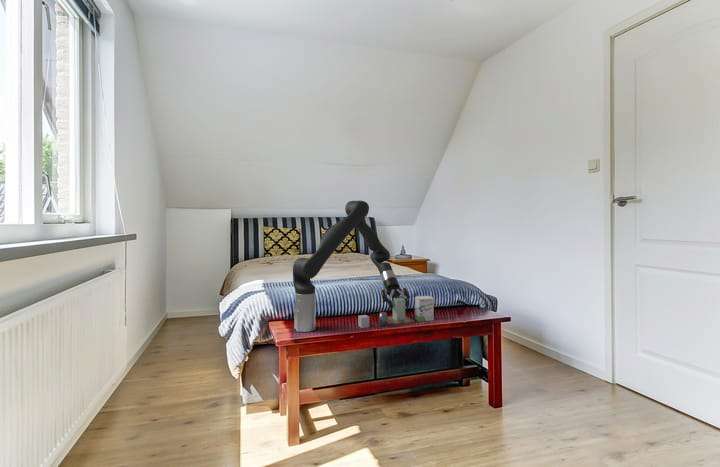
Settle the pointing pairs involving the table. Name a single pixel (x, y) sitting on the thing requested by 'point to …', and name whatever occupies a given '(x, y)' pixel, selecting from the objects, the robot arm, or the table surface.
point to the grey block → (363, 321)
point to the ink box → (424, 308)
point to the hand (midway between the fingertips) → (399, 307)
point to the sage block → (399, 309)
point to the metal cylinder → (382, 318)
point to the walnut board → (400, 321)
